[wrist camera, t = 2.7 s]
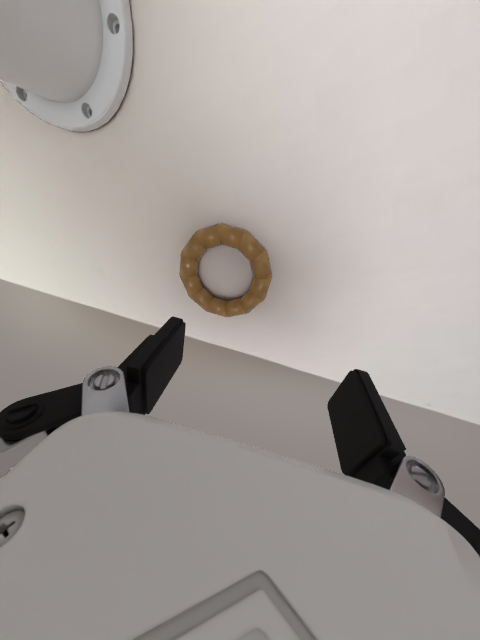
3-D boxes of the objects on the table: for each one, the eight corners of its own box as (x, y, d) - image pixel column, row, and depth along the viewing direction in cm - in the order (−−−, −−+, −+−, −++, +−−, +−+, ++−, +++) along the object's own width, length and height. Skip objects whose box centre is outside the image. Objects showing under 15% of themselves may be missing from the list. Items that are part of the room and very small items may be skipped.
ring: (181, 298, 25) (174, 305, 24) (188, 212, 20) (180, 213, 19) (257, 320, 25) (255, 328, 23) (283, 238, 20) (284, 242, 18)
